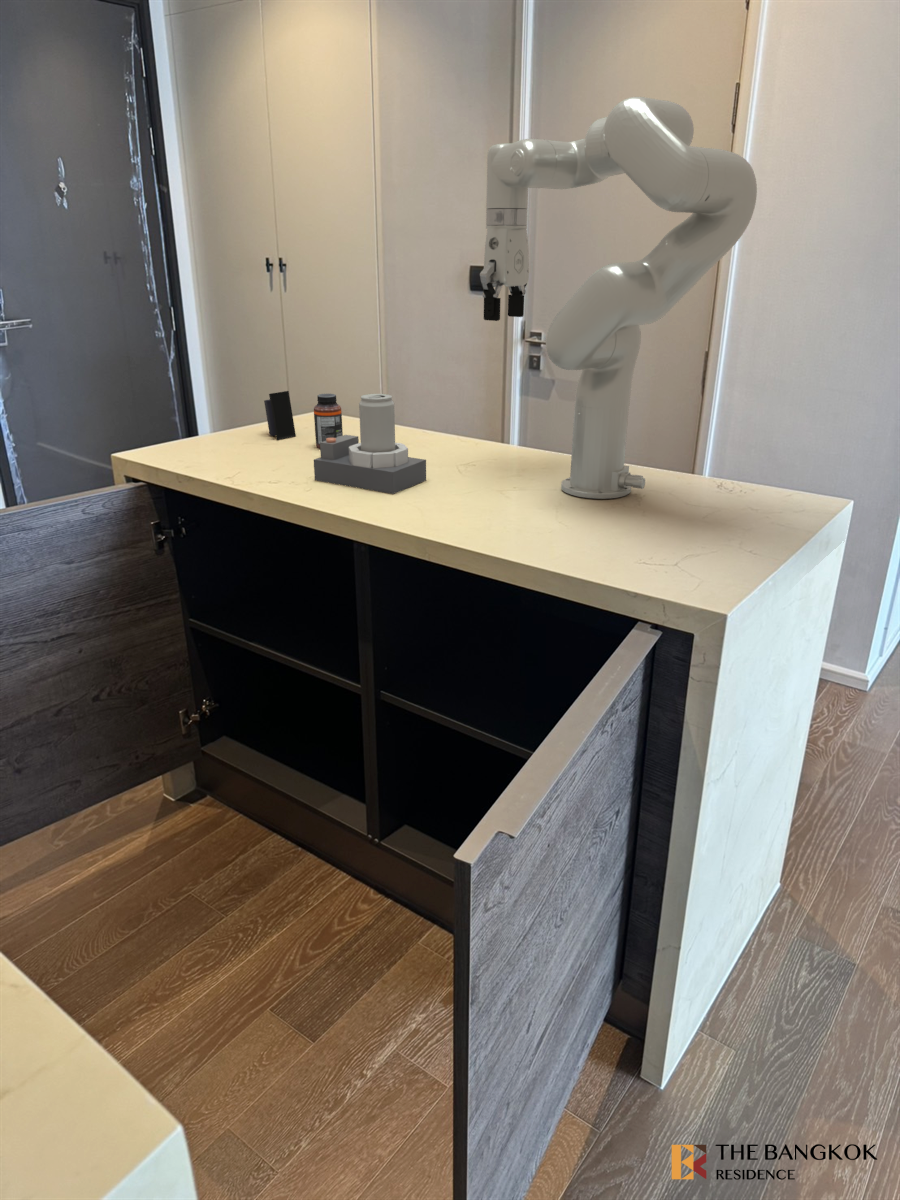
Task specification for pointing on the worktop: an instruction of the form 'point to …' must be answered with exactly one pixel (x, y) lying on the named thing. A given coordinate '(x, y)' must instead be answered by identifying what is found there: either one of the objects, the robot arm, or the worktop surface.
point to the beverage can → (377, 423)
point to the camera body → (367, 466)
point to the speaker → (280, 415)
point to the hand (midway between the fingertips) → (503, 318)
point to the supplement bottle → (327, 418)
